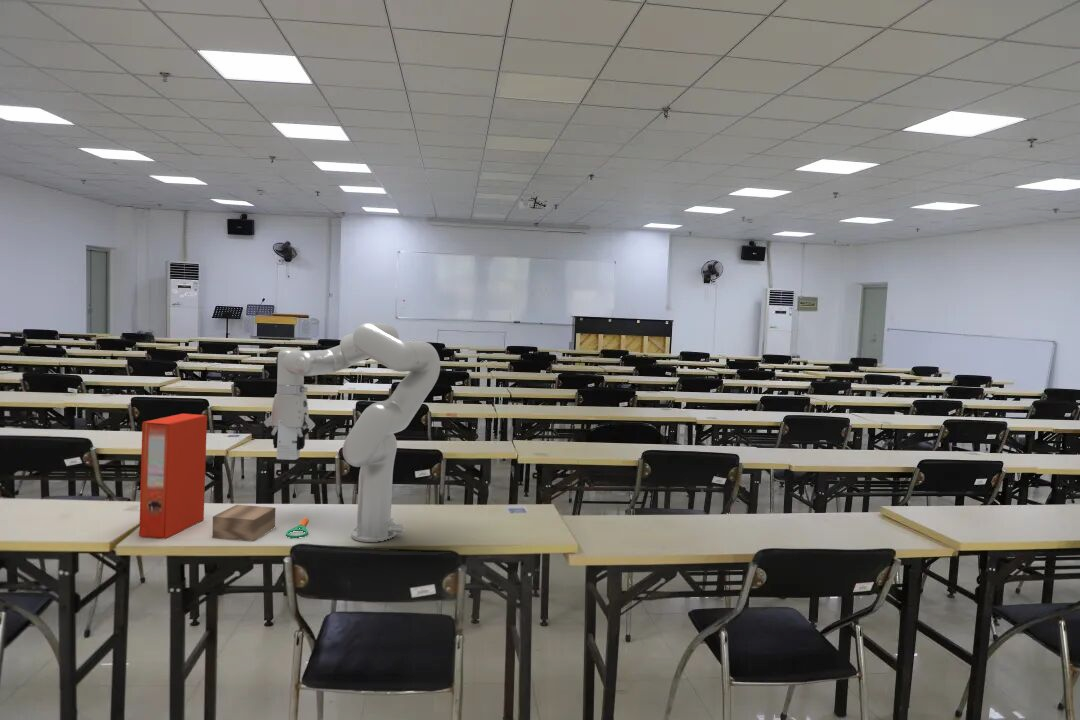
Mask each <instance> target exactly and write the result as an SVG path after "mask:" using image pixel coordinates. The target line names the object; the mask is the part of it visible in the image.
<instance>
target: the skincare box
mask: <svg viewBox="0 0 1080 720" xmlns="http://www.w3.org/2000/svg"><path fill="white" fill-rule="evenodd" d="M297 437H299V434H298V432H297V430H296V428H290V427H285V426H284V425H283V424H282V421H281V420H279V421H278V439H277V448H276V460H290V461H291V460H292V461H293V460H294V461H296V460H298V459H299V458H300V457H301V449H300V450H297Z"/></svg>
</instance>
